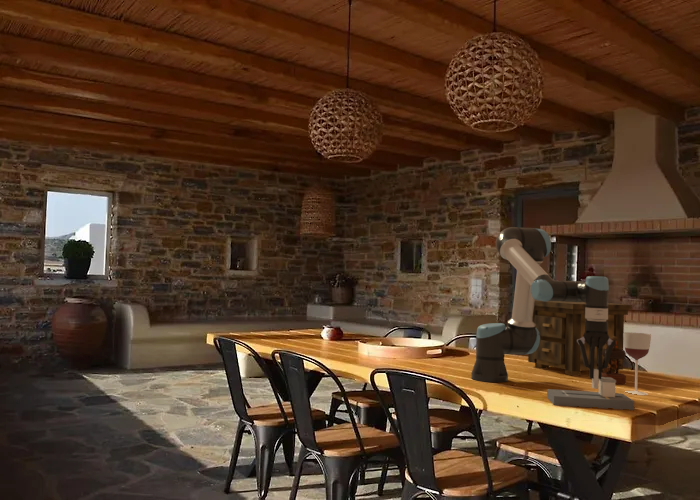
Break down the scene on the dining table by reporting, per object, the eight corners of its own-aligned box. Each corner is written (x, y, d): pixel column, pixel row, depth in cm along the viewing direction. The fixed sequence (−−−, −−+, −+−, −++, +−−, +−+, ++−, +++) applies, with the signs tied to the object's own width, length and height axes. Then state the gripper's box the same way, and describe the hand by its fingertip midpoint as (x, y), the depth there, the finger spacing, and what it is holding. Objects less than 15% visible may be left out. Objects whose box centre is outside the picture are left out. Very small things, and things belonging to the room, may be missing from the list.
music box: (618, 385, 260) (615, 337, 262) (593, 383, 269) (590, 336, 271) (635, 382, 270) (631, 335, 272) (610, 380, 279) (607, 335, 281)
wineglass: (617, 390, 249) (618, 332, 250) (641, 391, 250) (642, 332, 251) (629, 394, 240) (631, 334, 241) (654, 395, 241) (656, 335, 241)
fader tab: (602, 396, 216) (602, 379, 216) (597, 393, 222) (598, 376, 223) (615, 397, 215) (616, 380, 216) (610, 394, 222) (611, 377, 222)
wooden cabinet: (630, 375, 292) (631, 304, 294) (571, 377, 279) (573, 303, 280) (576, 364, 325) (577, 301, 326) (521, 365, 311) (522, 299, 312)
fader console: (553, 405, 215) (553, 395, 215) (547, 397, 228) (547, 388, 228) (634, 410, 211) (634, 400, 211) (622, 402, 225) (622, 393, 225)
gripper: (579, 320, 218) (577, 388, 217) (618, 321, 216) (617, 391, 215) (574, 318, 225) (573, 385, 224) (613, 320, 223) (611, 387, 222)
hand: (595, 388), depth 219 cm, fingers closed
